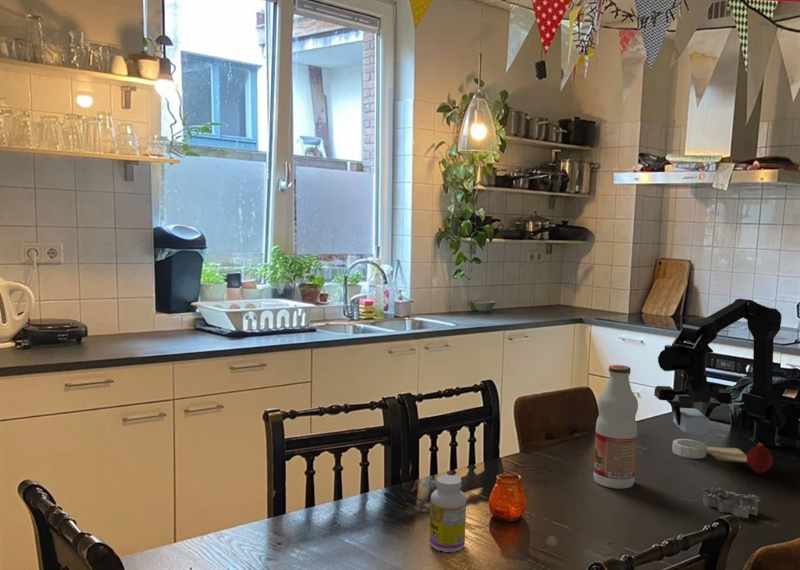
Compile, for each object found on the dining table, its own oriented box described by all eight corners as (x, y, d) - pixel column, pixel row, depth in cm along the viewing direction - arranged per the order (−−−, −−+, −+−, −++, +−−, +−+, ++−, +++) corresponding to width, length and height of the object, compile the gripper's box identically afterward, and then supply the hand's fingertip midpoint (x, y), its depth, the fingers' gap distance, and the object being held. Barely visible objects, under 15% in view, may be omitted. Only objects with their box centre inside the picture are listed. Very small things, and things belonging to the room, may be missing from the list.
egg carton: (762, 516, 147) (764, 497, 147) (740, 522, 144) (741, 503, 143) (718, 498, 157) (720, 480, 156) (696, 503, 153) (698, 485, 153)
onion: (765, 470, 175) (768, 439, 175) (775, 478, 170) (778, 447, 169) (741, 469, 176) (744, 438, 175) (751, 477, 170) (753, 445, 170)
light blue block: (673, 421, 192) (674, 407, 192) (695, 422, 192) (696, 408, 191) (685, 433, 181) (685, 418, 181) (708, 434, 181) (709, 419, 180)
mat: (704, 447, 193) (704, 446, 193) (737, 449, 192) (737, 448, 192) (717, 460, 182) (717, 459, 182) (753, 462, 181) (753, 461, 181)
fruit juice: (623, 492, 158) (630, 372, 155) (585, 481, 164) (591, 366, 162) (640, 482, 164) (647, 367, 162) (604, 472, 171) (610, 361, 168)
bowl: (668, 447, 192) (669, 438, 192) (700, 449, 191) (700, 440, 191) (677, 457, 183) (678, 447, 183) (710, 459, 183) (711, 449, 182)
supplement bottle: (427, 538, 132) (429, 472, 131) (461, 537, 132) (463, 472, 131) (431, 554, 125) (433, 486, 124) (467, 554, 126) (470, 485, 125)
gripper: (666, 373, 178) (662, 432, 180) (741, 377, 176) (737, 436, 177) (655, 365, 189) (652, 420, 191) (726, 368, 187) (722, 424, 188)
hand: (690, 425), depth 186 cm, fingers closed on light blue block, 6 cm apart
